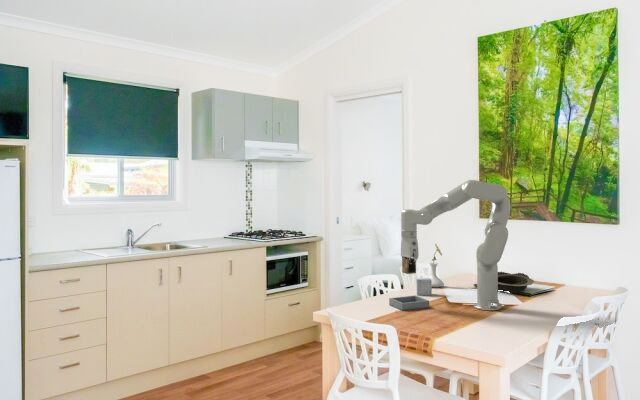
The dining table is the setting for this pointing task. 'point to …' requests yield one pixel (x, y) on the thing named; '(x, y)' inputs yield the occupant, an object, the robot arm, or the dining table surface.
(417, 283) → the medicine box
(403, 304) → the tray
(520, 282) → the stone bowl
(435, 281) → the flower in vase
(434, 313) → the dining table surface
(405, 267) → the walnut block
